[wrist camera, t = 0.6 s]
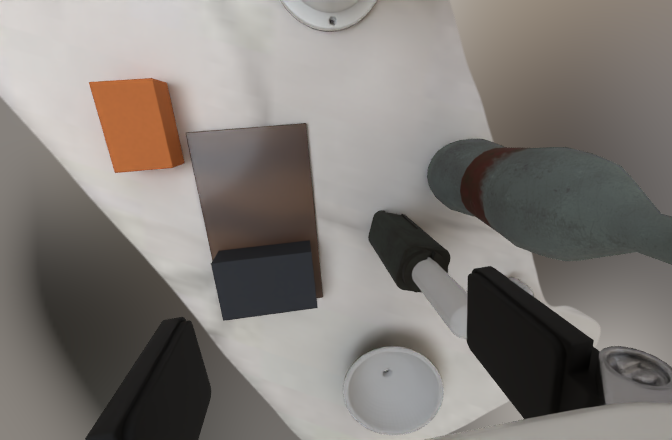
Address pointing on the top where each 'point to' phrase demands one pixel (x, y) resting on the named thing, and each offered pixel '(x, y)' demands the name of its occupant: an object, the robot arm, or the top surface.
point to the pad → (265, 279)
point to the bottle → (551, 200)
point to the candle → (419, 266)
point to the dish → (393, 390)
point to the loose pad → (138, 124)
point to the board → (256, 188)
